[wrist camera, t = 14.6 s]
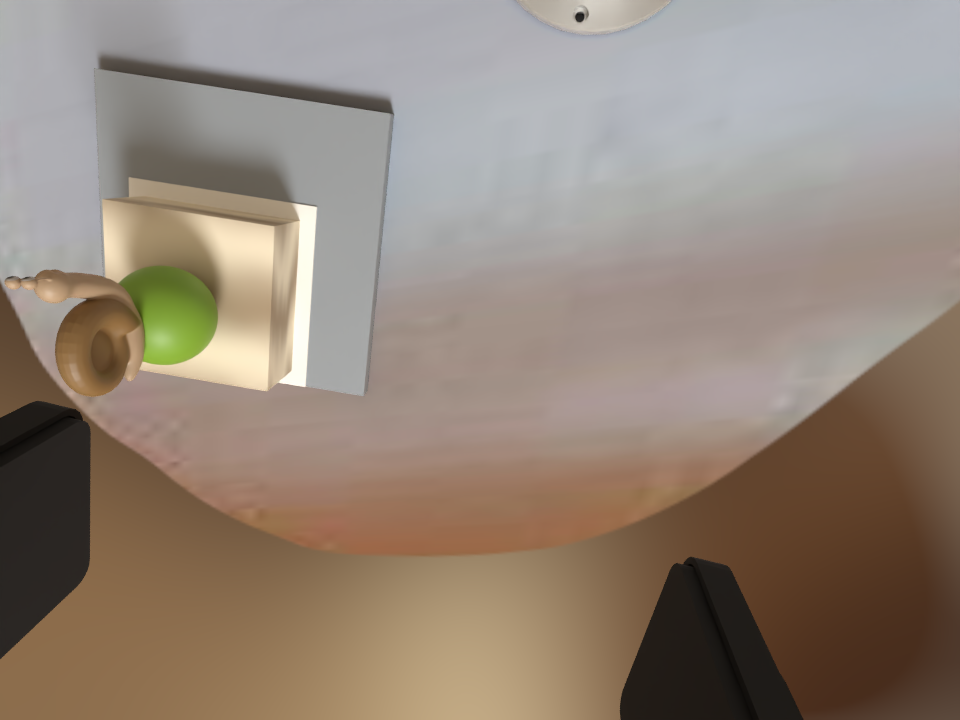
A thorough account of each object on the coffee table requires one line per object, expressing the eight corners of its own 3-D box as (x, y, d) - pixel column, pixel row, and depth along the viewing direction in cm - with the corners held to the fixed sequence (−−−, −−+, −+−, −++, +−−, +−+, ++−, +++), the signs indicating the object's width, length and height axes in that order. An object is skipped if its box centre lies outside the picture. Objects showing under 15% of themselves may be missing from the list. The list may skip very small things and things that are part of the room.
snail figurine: (228, 242, 35) (81, 278, 23) (239, 350, 37) (109, 432, 25) (136, 240, 35) (-52, 274, 24) (152, 347, 37) (-15, 426, 26)
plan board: (105, 70, 37) (92, 68, 36) (394, 115, 37) (389, 113, 36) (115, 349, 43) (105, 353, 42) (367, 391, 42) (363, 396, 41)
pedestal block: (144, 196, 38) (102, 198, 35) (299, 220, 38) (274, 226, 34) (147, 346, 42) (109, 364, 38) (291, 370, 41) (267, 391, 37)
